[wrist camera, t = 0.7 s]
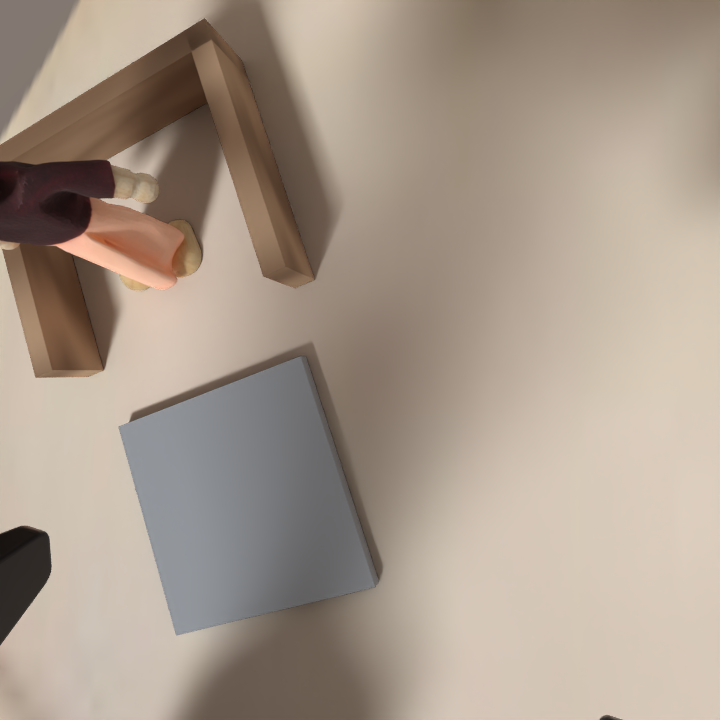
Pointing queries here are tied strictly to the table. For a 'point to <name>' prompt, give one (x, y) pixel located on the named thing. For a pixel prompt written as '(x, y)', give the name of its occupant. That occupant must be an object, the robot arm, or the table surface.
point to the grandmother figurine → (95, 220)
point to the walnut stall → (121, 130)
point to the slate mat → (247, 500)
